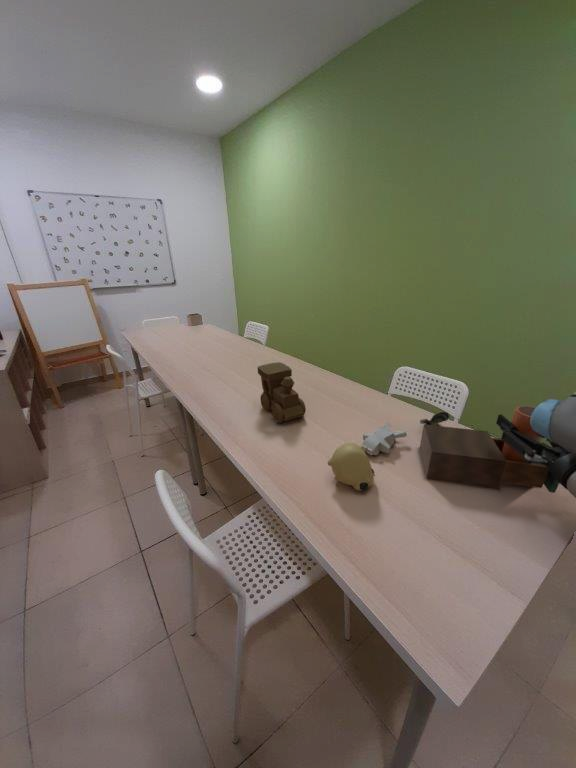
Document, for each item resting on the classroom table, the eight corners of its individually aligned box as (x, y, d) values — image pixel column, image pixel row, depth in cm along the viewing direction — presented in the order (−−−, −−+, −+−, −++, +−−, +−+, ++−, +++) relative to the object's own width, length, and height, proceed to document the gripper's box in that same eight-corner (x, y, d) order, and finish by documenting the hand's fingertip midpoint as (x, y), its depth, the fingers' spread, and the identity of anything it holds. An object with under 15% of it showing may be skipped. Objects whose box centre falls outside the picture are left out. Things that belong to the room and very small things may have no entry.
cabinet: (480, 456, 87) (487, 431, 84) (497, 489, 75) (506, 461, 72) (419, 448, 91) (423, 424, 88) (426, 478, 79) (431, 451, 76)
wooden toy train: (257, 405, 120) (255, 366, 113) (282, 398, 125) (281, 360, 118) (280, 428, 104) (279, 384, 97) (308, 419, 108) (308, 377, 102)
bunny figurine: (353, 436, 91) (384, 416, 98) (354, 450, 93) (384, 428, 100) (380, 451, 84) (410, 427, 91) (379, 465, 86) (409, 441, 94)
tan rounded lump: (343, 502, 77) (376, 494, 70) (316, 463, 77) (345, 451, 70) (358, 479, 84) (389, 469, 77) (333, 444, 84) (362, 431, 77)
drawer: (536, 461, 83) (543, 441, 80) (561, 493, 72) (571, 471, 69) (469, 453, 87) (474, 433, 84) (482, 482, 76) (489, 460, 73)
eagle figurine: (445, 437, 94) (454, 421, 100) (434, 418, 93) (444, 403, 99) (423, 440, 100) (432, 425, 106) (413, 422, 99) (423, 408, 105)
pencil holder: (521, 462, 81) (541, 406, 74) (532, 478, 75) (555, 419, 68) (493, 459, 83) (510, 403, 76) (503, 474, 77) (522, 416, 70)
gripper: (526, 492, 60) (471, 430, 81) (632, 496, 58) (548, 432, 79) (538, 461, 57) (477, 405, 78) (650, 465, 55) (558, 407, 77)
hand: (513, 419), depth 79 cm, fingers closed on pencil holder, 7 cm apart
